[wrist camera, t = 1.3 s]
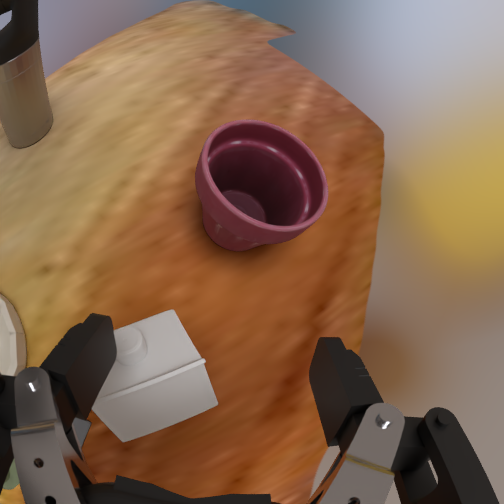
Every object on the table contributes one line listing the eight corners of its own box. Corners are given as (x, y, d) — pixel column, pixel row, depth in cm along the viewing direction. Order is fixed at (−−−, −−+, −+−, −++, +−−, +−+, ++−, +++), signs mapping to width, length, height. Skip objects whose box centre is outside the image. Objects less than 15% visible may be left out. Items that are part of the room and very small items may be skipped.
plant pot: (299, 231, 41) (350, 187, 30) (235, 292, 35) (276, 260, 23) (236, 164, 42) (265, 105, 31) (163, 211, 35) (171, 147, 24)
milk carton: (191, 381, 29) (235, 418, 12) (137, 402, 26) (115, 465, 9) (166, 326, 30) (176, 295, 14) (112, 347, 27) (55, 340, 11)
